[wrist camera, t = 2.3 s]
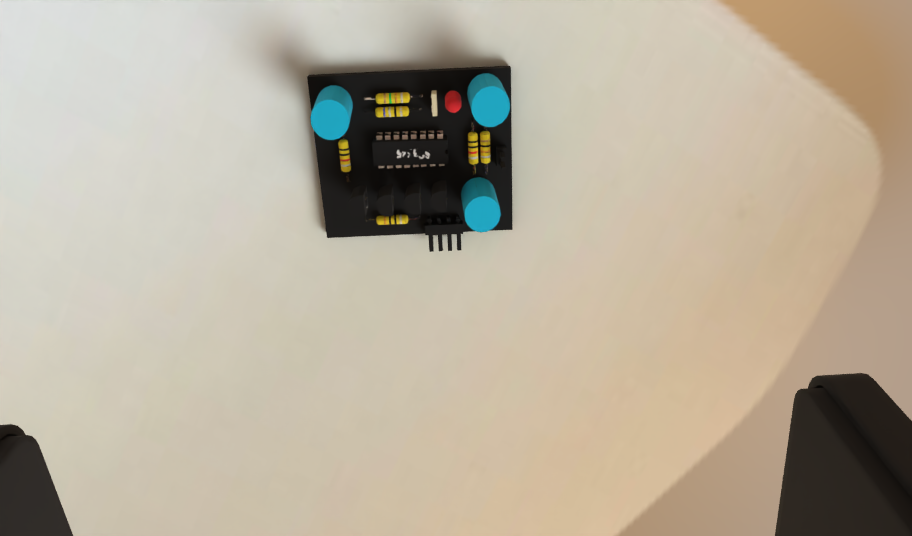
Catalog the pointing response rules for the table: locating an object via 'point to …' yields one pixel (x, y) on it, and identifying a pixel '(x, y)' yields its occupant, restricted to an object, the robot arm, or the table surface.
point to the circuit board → (414, 151)
